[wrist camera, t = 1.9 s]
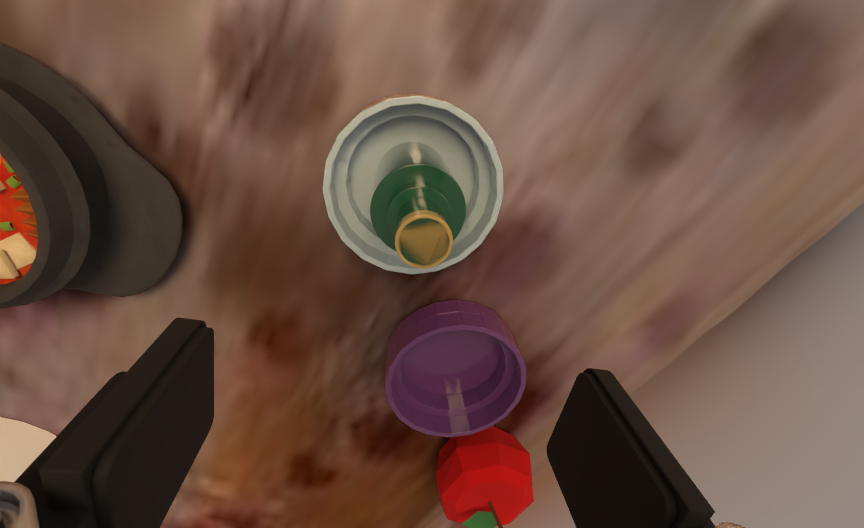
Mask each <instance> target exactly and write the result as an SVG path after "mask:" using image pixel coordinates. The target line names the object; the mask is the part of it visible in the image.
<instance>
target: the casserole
mask: <svg viewBox="0 0 864 528" xmlns="http://www.w3.org/2000/svg"><path fill="white" fill-rule="evenodd" d="M181 237H182V213H181V207H180V202H179V198H178V196H177V195H176V193H175V191H174V189H173V188H172V186H171V184H170V182H169V181H168V180H167V179H166V178H165V177H164V176H163V175H162V174H161V173H160V172H158V171H157V170H156V169H155V168H154V167H153V166H152V165H151V164H150V163H149V162H147V161H146V160H145V159H144V158H143V157H141V156H140V155H139V154H138V153H137V152H135V151H134V150H133V149H132V148H131V147H129V146H128V145H127V144H126V143H125V142H124V140H123V139H122V138H121V137H120V136H119V135H118V134H117V132H116V131H115V130H114V129H113V128H112V127H111V125H110V124H109V123H108V122H107V121H106V120H105V119H104V117H103V116H102V115H101V114H100V113H99V112H98V111H97V109H96V108H95V107H94V106H93V105H92V104H91V103H90V101H89V100H88V99H87V98H86V97H85V96H84V95H83V94H82V93H80V92H79V91H78V90H77V89H76V88H75V87H73V86H72V85H71V84H70V83H69V82H68V81H66V80H65V79H64V78H63V77H62V76H61V75H59V74H58V73H56V72H55V71H53V70H52V69H50V68H48V67H47V66H45V65H44V64H42V63H41V62H39V61H37V60H36V59H34V58H33V57H31V56H30V55H28V54H25V53H23V52H21V51H19V50H17V49H14V48H12V47H10V46H8V45H5V44H3V43H1V42H0V308H6V307H13V306H20V305H26V304H29V303H32V302H35V301H38V300H41V299H44V298H47V297H48V296H50V295H52V294H53V293H55V292H56V291H58V290H60V289H77V290H82V291H88V292H94V293H99V294H105V295H113V296H120V297H124V296H130V295H135V294H140V293H142V292H143V291H145V290H147V289H148V288H150V287H152V286H154V285H155V284H156V283H157V282H158V281H159V280H160V279H161V278H162V277H163V276H164V275H165V274H166V272H167V271H168V269H169V267H170V266H171V264H172V262H173V261H174V259H175V257H176V255H177V251H178V248H179V244H180V241H181Z"/></svg>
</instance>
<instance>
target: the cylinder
mask: <svg viewBox="0 0 864 528" xmlns="http://www.w3.org/2000/svg"><path fill="white" fill-rule="evenodd" d="M56 437H57V436H55V435H54V434H52V433H50V432H49V431H46V430H44V429H41V428H38V427H36V426H33V425H31V424H28V423H25V422H22V421H17V420H12V419H8V418H3V417H0V481H7V482H15V481H16V480H17V478H18V477H19V476H20V475H21V474H22V473H23V472H24V471H25V470H26V469H27V468H28V467H29V466H30V465H31V463H32V462H33V461H34V460H35V459H36V458H37V457H38V456H39V455H40V454H41V453H42V452H43V451H44V450H45V449H46V447H47V446H48V445H49V444H50V443H51V442H52V441H53V440H54V439H55V438H56Z"/></svg>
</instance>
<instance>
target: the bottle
mask: <svg viewBox="0 0 864 528" xmlns="http://www.w3.org/2000/svg"><path fill="white" fill-rule="evenodd" d="M370 216H371V222H372V225H373V228H374V230H375V232H376V234H377V235H378V237H379V238H380V239H381V240H382V242H384V243H385V244H386V245H387V246H388V247H390V248H391V249H393V250H394V251H396V252H397V253H398V255H399V257H400V258H401V259H402V260H403V261H404V262H405V263H407V264H408V265H410V266H413V267H416V268H431V267H434V266H436V265H438V264H440V263H441V262H443V261H444V260H445V259H446V258H447V256H448V255H449V253H450V251H451V249H452V245H453V241H454V240H455V238H456V237H457V236H458V234H459V233H460V231H461V229H462V227H463V224H464V221H465V217H466V203H465V198H464V195H463V192H462V190H461V188H460V186H459V184H458V183H457V181H456V179H455V178H454V176H453V174H452V173H451V171H450V169H449V168H448V166H447V164H446V163H445V161H444V159H443V158H442V156H441V155H440V154H439V153H438V152H437V151H436V150H435V149H433V148H432V147H430V146H428V145H426V144H423V143H419V142H405V143H401V144H398V145H396V146H394V147H393V148H391V149H390V150H388V151H387V152H386V153H385V154H384V156H383V157H382V158H381V160H380V162H379V164H378V167H377V171H376V176H375V181H374V187H373V193H372V198H371V205H370Z"/></svg>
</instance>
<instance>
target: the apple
mask: <svg viewBox="0 0 864 528" xmlns="http://www.w3.org/2000/svg"><path fill="white" fill-rule="evenodd" d="M436 480H437V487H438V494H439V500H440V503H441V505H442V507H443V510H444V512H445V515H446V517H447V519H449V520H452V521H454V522H457V523H460V524H461V525H464V526H466V527H468V528H495V526H498V527H499V528H503V527H502V525H505V524H509V523H510V522H512V521H513V520H514V519H515V518H516V517H517V516H518V515H519V514H520V513H521V512H522V511H523V510H525V509H526V508H527V507H528V506H529V505H530V504H531V503H532V502H533V501H534V500H533V490H532V489H533V488H532V476H531V465H530V454H529V453H528V452H527V451H526V450H525V448H524V447H523V446H522V445H521V444H520V443H519V442H518V441H517V439H516V438H515V437H514V436H513V435H511V434H509V433H507V432H505V431H503V430H500V429H498V428H496V427H494V426H492V427H490V428H487V429H485V430H482V431H479V432H477V433H474V434H471V435H464V436H457V437H451V438H450V439H449V440H448V441H447V442H446V444H445V445H444V446H443V447H442V448H441V449H440V450H439V456H438V463H437V469H436Z"/></svg>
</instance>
